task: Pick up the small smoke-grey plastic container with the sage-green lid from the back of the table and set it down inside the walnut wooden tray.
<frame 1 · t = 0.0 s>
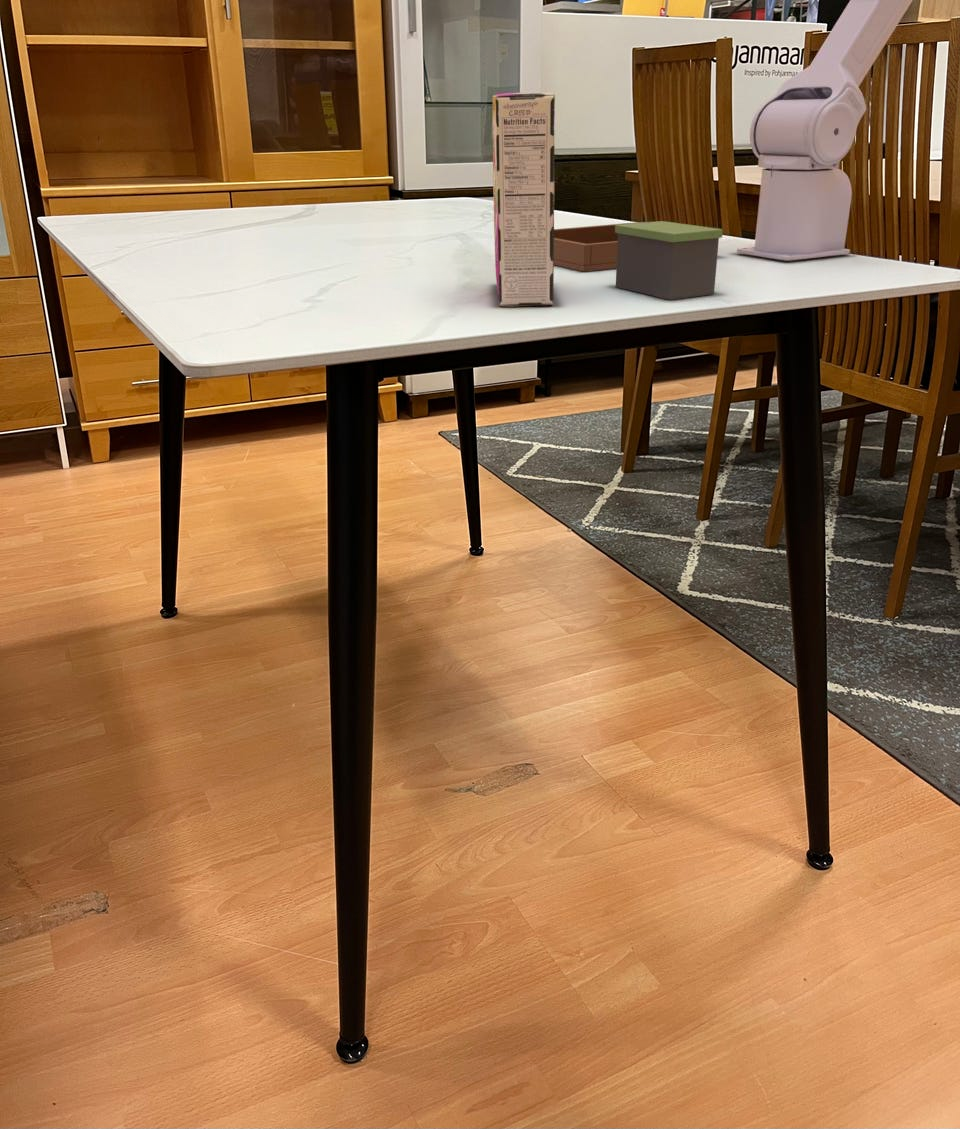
candy bar box: (522, 297, 86), on the table
tray: (615, 256, 107), on the table
container: (663, 290, 87), on the table
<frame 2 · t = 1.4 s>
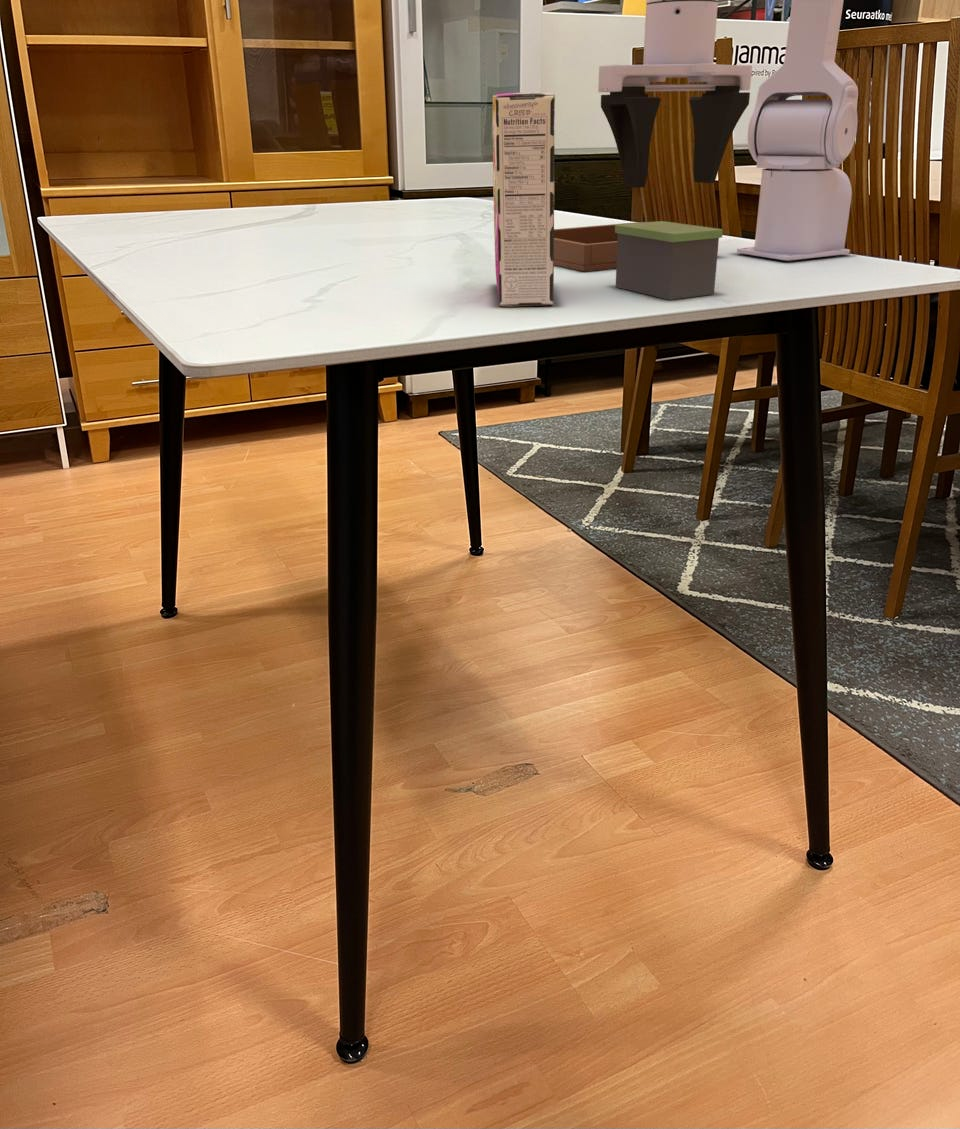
hand: (670, 184, 83), 9 cm above the table, tool pointing down, fingers open, 7 cm apart
nothing on the table moved.
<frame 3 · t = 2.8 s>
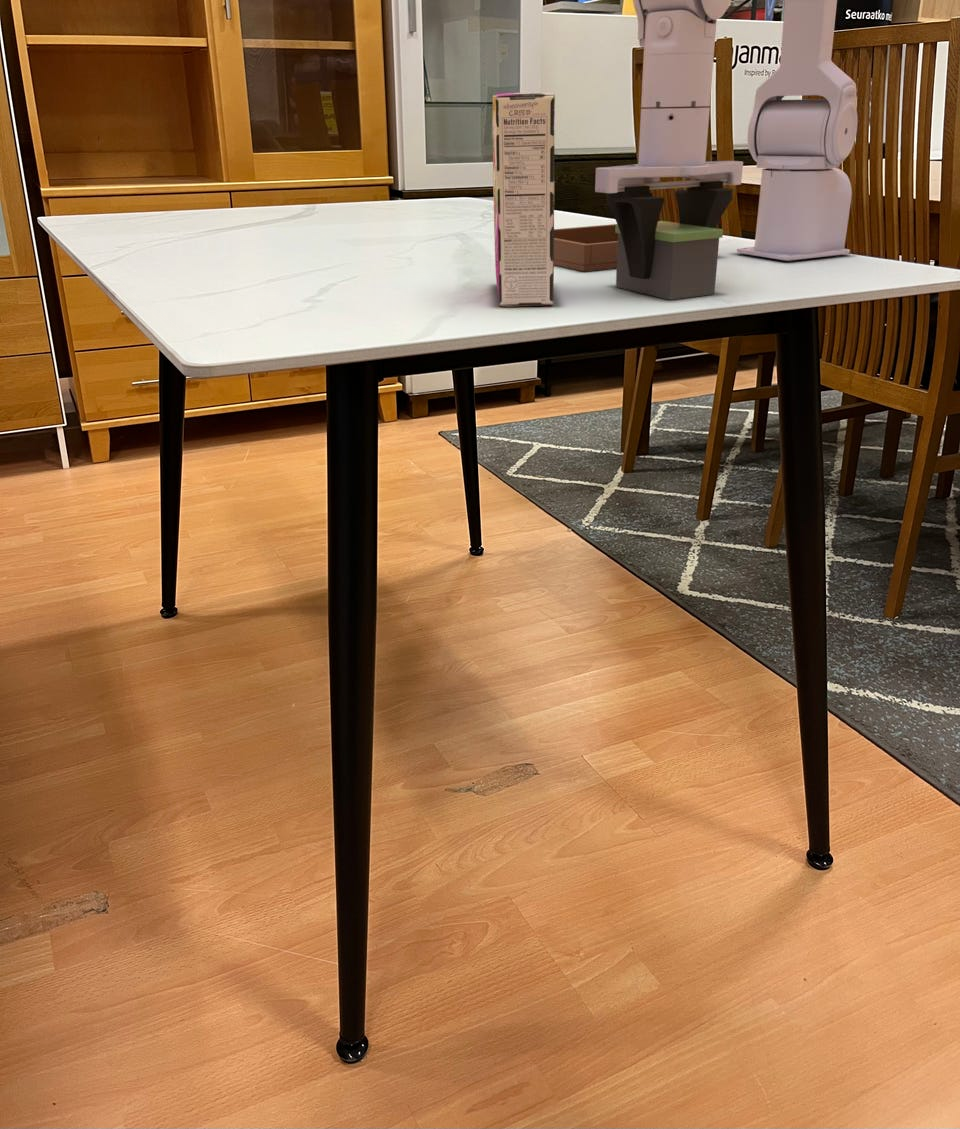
hand: (664, 274, 87), 1 cm above the table, tool pointing down, fingers closed on container, 5 cm apart
container: (663, 290, 87), on the table, touching gripper
everything else where it was.
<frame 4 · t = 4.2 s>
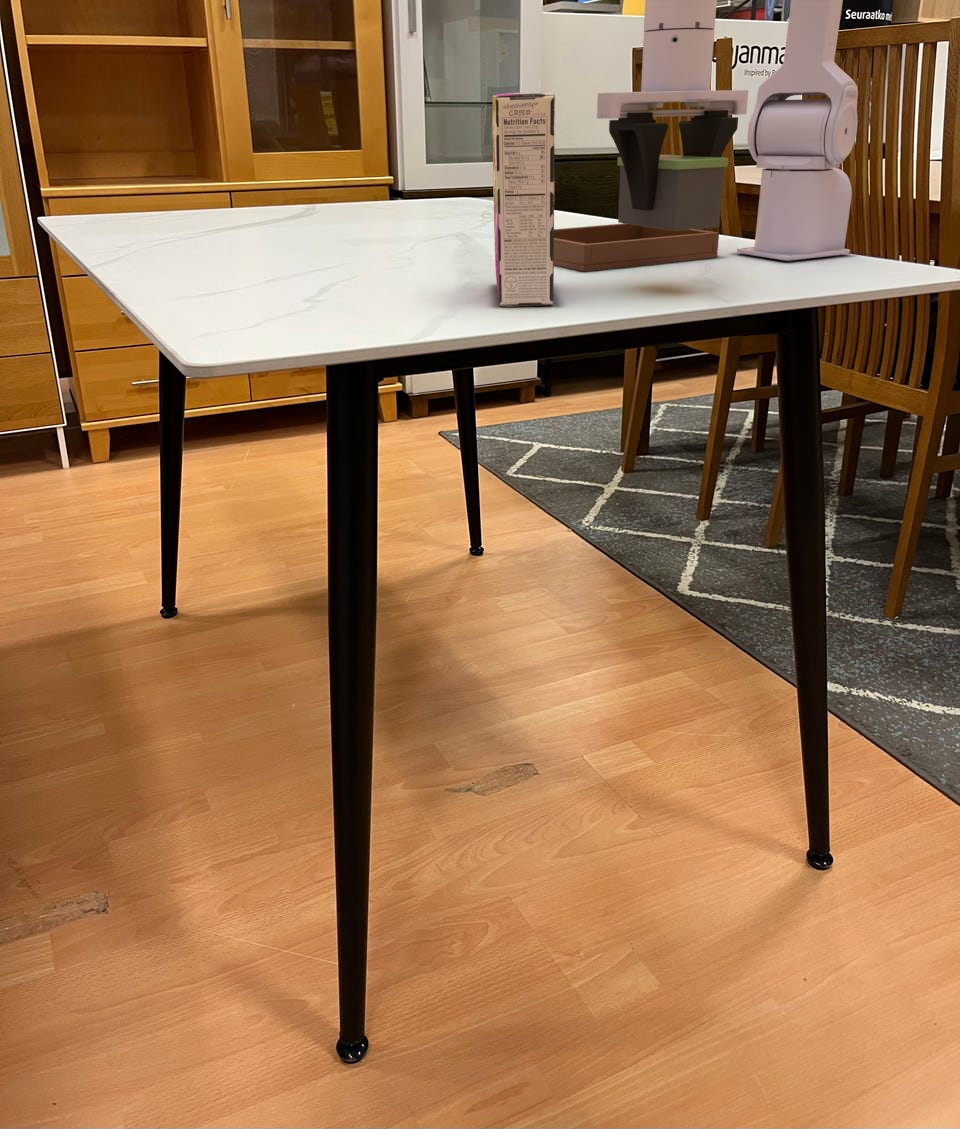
hand: (668, 207, 85), 7 cm above the table, tool pointing down, fingers closed on container, 5 cm apart
container: (667, 224, 85), point 6 cm above the table, touching gripper
everything else where it was.
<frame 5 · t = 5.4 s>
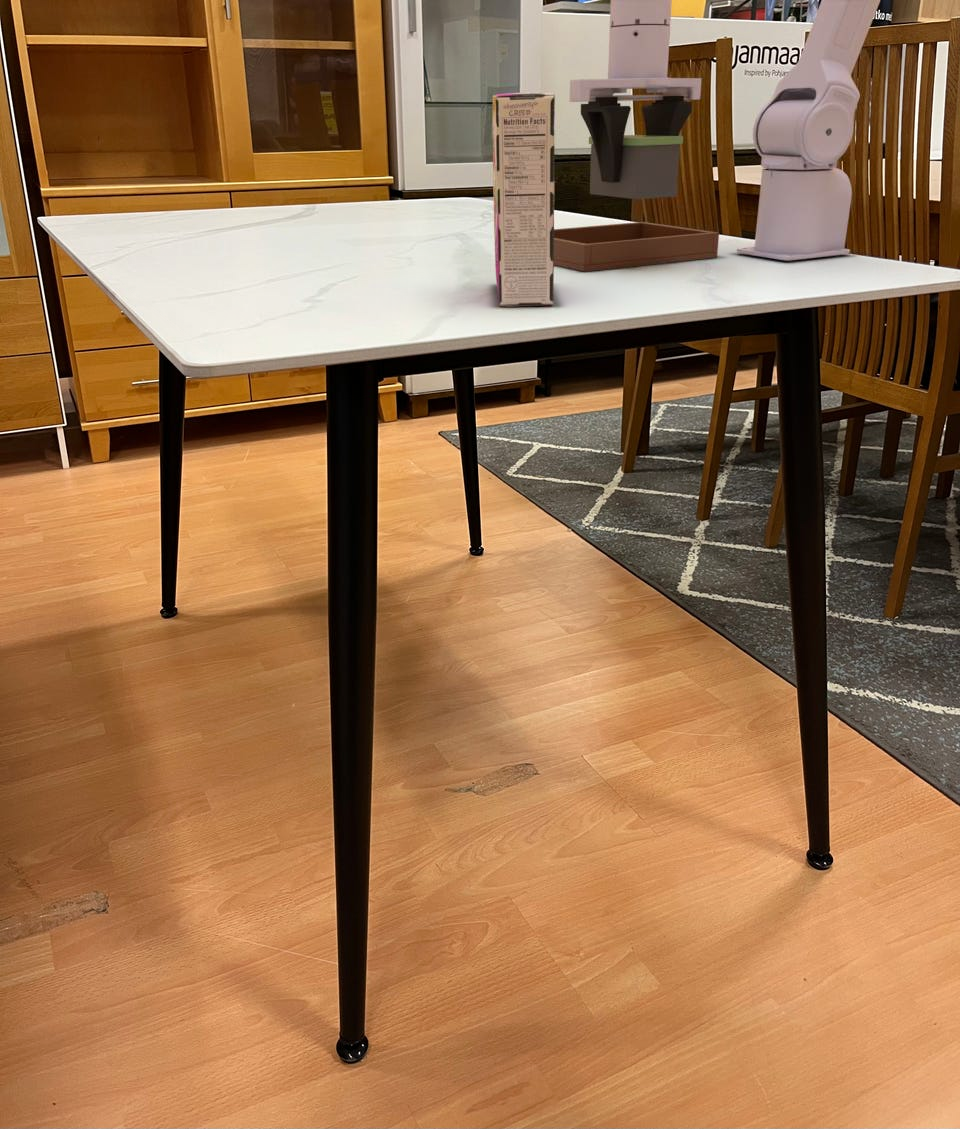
hand: (632, 180, 97), 8 cm above the table, tool pointing down, fingers closed on container, 5 cm apart
container: (632, 195, 98), point 7 cm above the table, touching gripper
everything else where it was.
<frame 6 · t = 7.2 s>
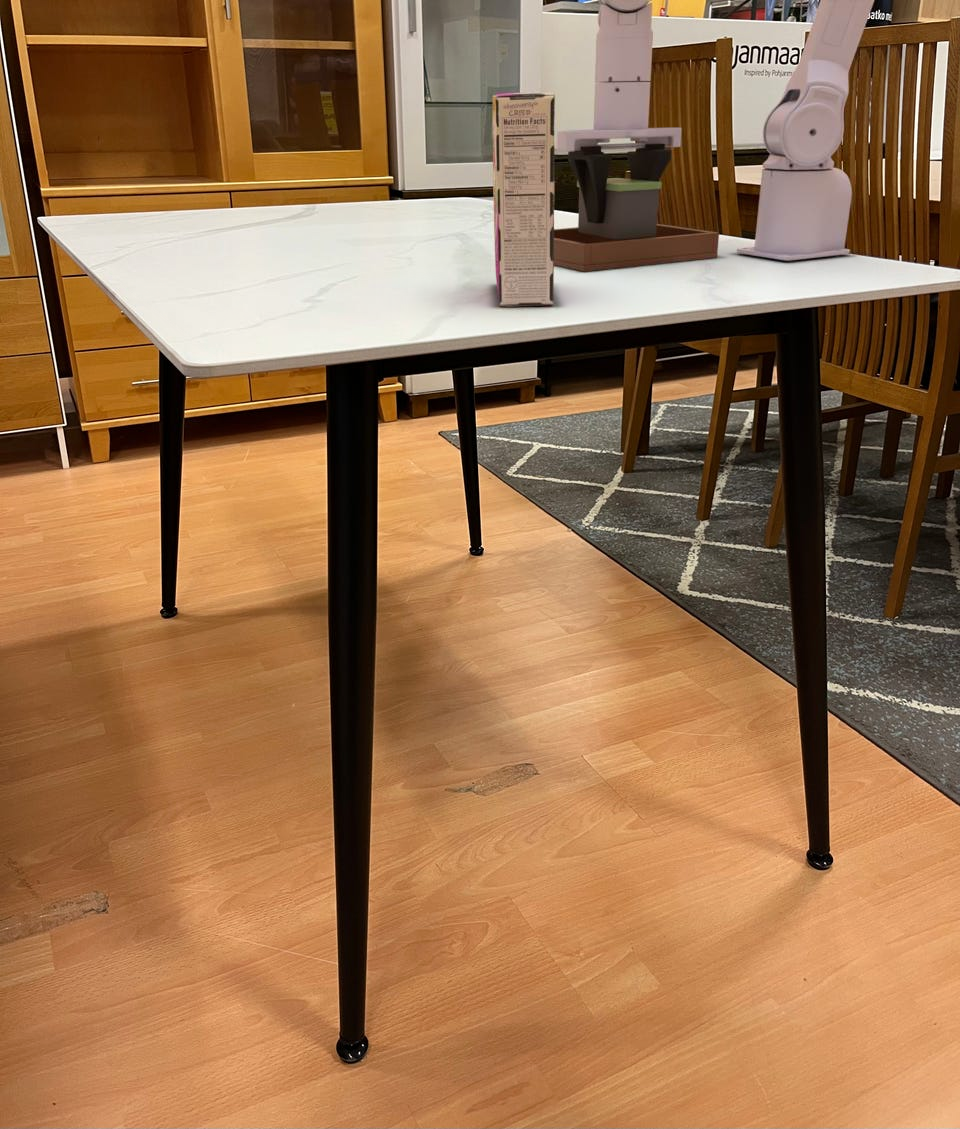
hand: (616, 221, 105), 4 cm above the table, tool pointing down, fingers closed on container, 5 cm apart
container: (616, 234, 106), point 2 cm above the table, touching gripper
everything else where it was.
when the fingers open (2 cm above the table, at t = 8.4 s): container stays where it is, resting on tray.
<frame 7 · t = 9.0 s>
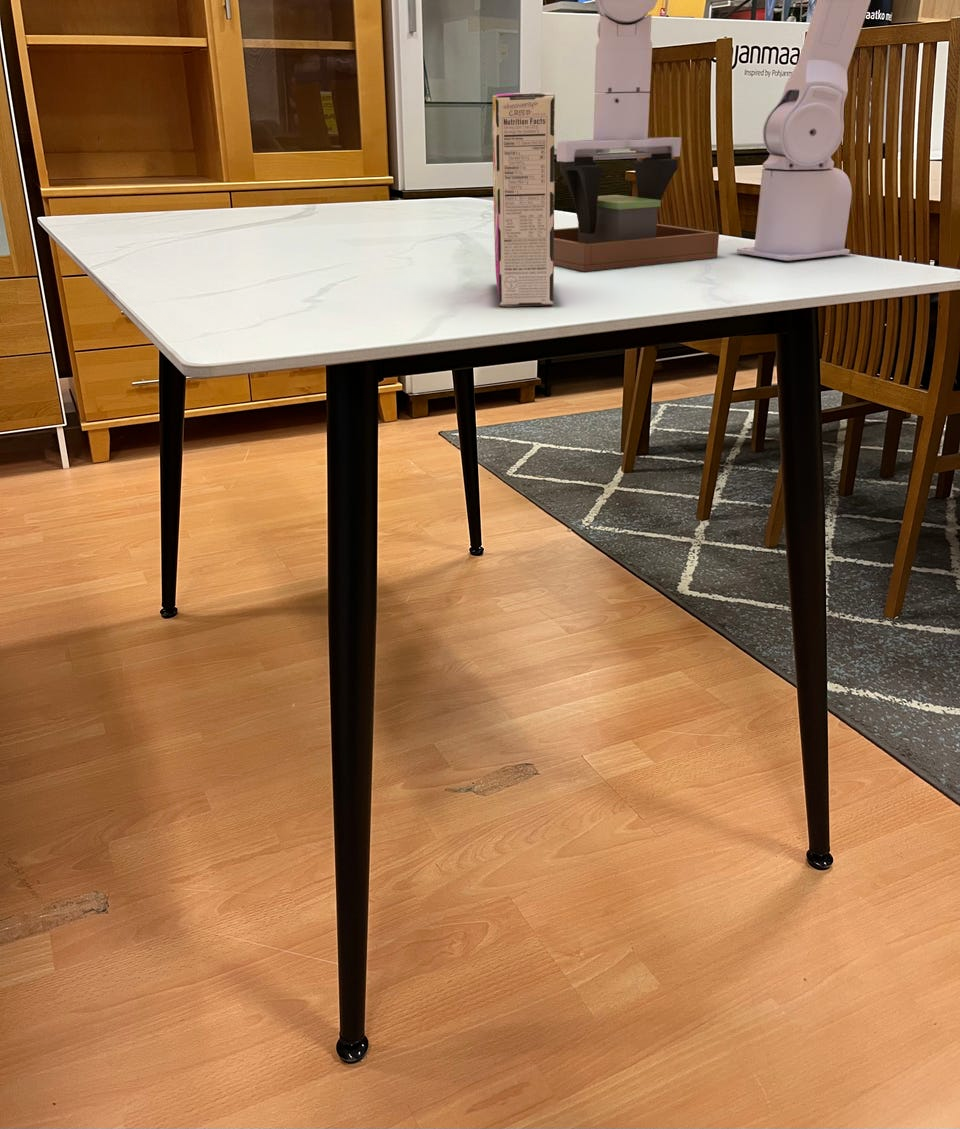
hand: (616, 230, 106), 3 cm above the table, tool pointing down, fingers open, 7 cm apart
container: (615, 251, 107), point 1 cm above the table, touching tray
everything else where it was.
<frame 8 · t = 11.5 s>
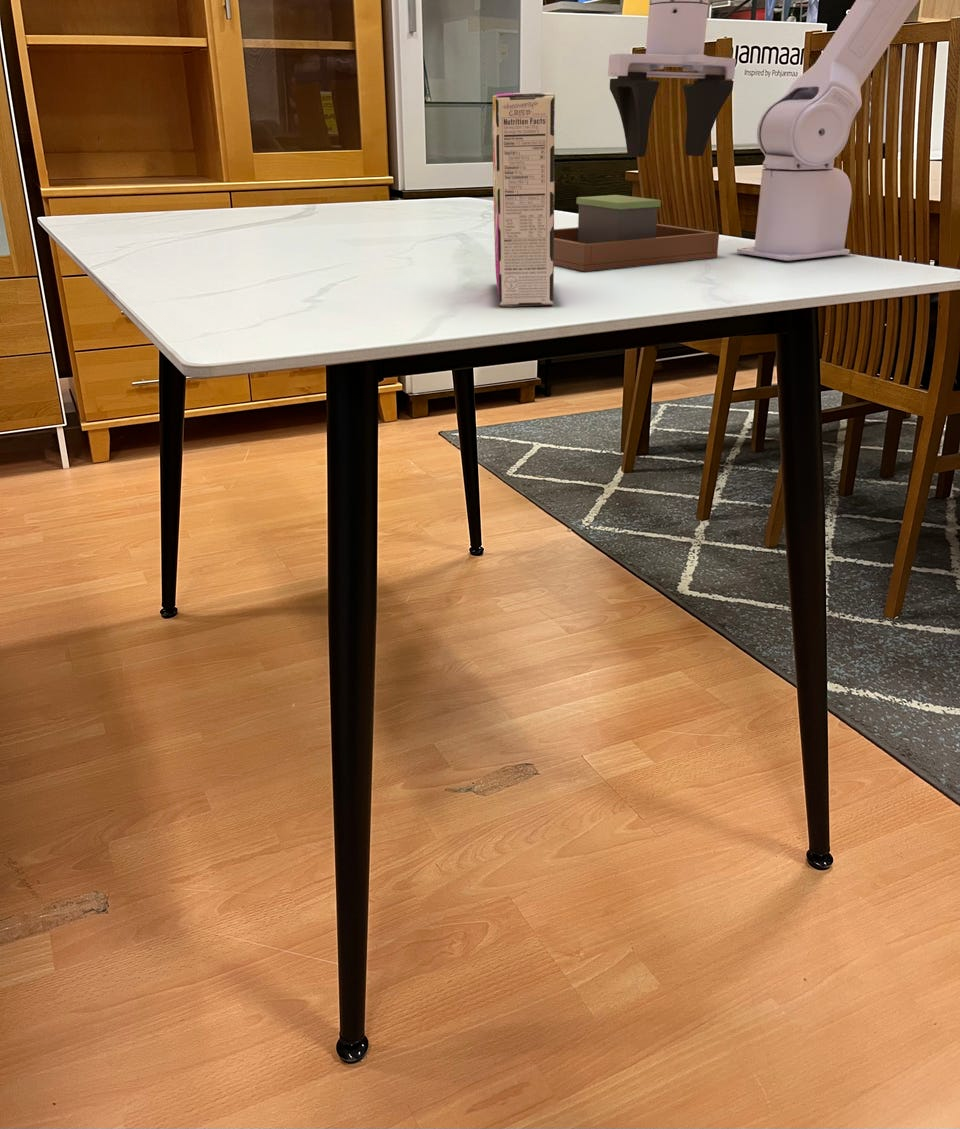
hand: (665, 156, 100), 10 cm above the table, tool pointing down, fingers open, 7 cm apart
nothing on the table moved.
at the end: container inside the target area in the tray (0.0 cm from its centre), point 0.6 cm above the tray's base; container tilted 0°; the gripper is holding nothing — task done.
